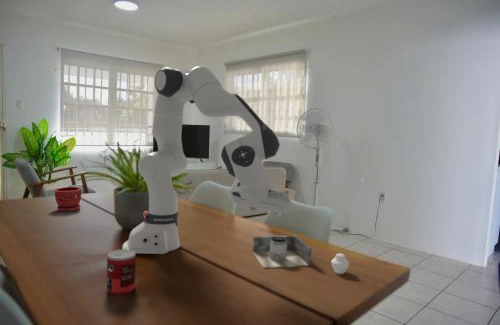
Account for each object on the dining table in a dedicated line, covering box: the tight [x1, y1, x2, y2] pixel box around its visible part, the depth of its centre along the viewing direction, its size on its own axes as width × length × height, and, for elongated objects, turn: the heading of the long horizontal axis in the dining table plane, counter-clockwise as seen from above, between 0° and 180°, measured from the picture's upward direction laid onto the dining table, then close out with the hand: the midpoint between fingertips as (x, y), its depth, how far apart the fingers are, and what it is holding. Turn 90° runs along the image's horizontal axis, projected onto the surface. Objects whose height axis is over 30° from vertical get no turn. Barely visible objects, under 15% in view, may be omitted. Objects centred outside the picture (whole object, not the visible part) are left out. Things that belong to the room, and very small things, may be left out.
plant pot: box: [54, 186, 82, 212], centre depth 194 cm, size 13×13×12 cm
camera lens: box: [270, 237, 287, 261], centre depth 132 cm, size 6×6×8 cm
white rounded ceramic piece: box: [331, 253, 350, 275], centre depth 123 cm, size 6×6×7 cm
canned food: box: [106, 248, 137, 296], centre depth 103 cm, size 8×8×11 cm
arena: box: [252, 234, 313, 270], centre depth 134 cm, size 18×16×7 cm
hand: (266, 212), depth 120 cm, fingers open, 8 cm apart
